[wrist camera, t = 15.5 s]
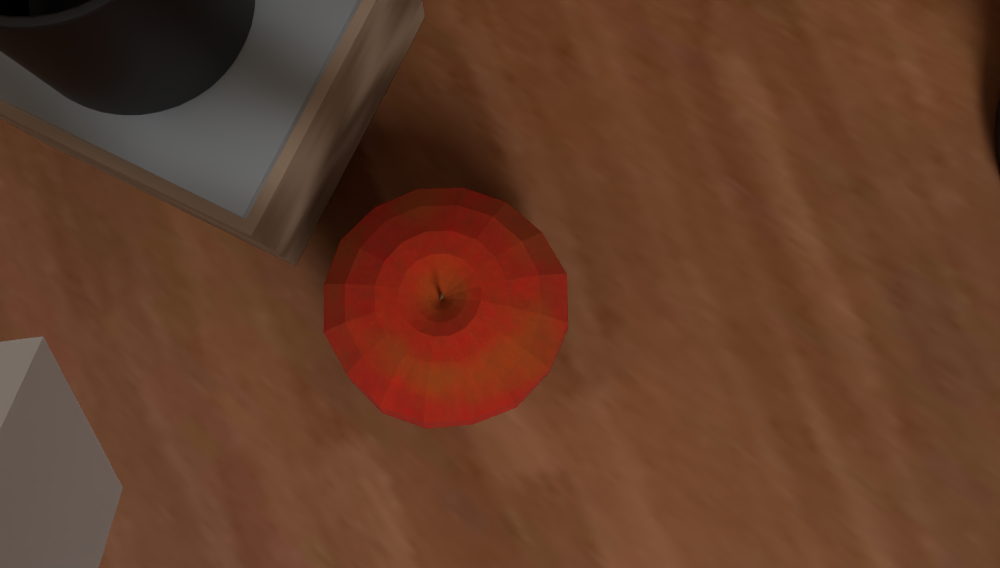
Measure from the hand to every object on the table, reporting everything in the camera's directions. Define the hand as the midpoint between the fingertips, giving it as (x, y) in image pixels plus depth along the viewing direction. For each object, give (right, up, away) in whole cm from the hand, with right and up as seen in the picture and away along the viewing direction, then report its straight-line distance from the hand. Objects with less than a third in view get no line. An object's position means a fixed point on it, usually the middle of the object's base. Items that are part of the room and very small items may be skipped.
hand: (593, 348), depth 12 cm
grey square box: (-14, +11, +34) cm, 39 cm away
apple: (-3, -1, +33) cm, 33 cm away
